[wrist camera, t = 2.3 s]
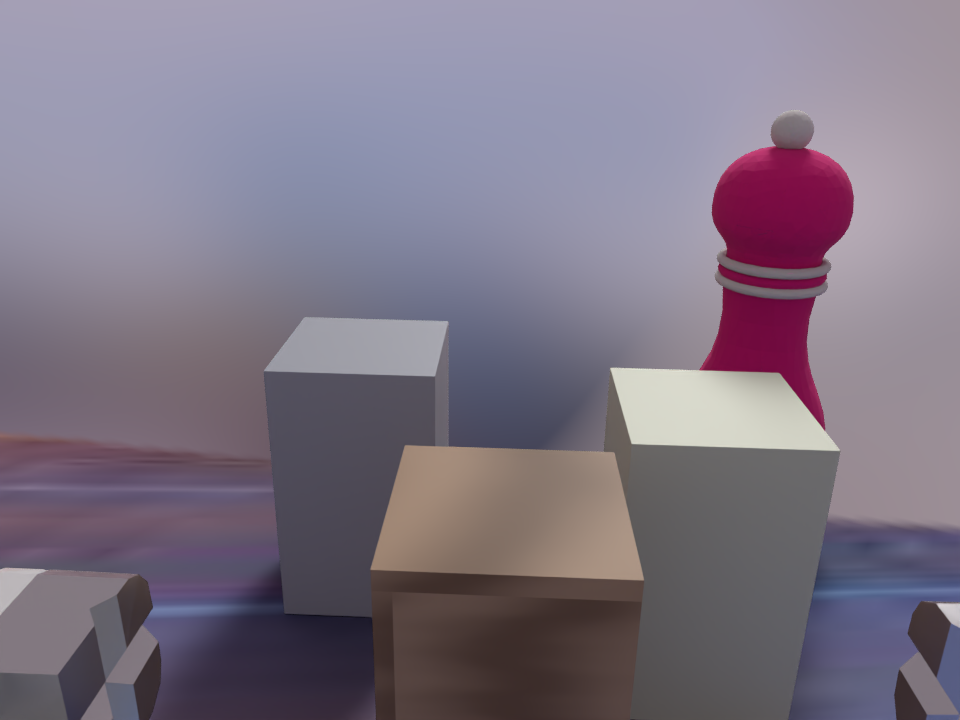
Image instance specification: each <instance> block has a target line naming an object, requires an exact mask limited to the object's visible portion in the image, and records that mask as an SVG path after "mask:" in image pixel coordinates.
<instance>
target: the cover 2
mask: <svg viewBox="0 0 960 720" xmlns="http://www.w3.org/2000/svg"><path fill="white" fill-rule="evenodd" d="M604 452H614V453H615V457H616V461H617V466H618V470H619V474H620V479H621V483H622V487H623V491H624V496H625V500H626V504H627V509H628V513H629V517H630V521H631V526H632V530H633V534H634V539H635V543H636V547H637V551H638V556H639V560H640V564H641V568H642V573H643V577H644V588H643V598H642V607H641V617H640V626H639V636H638V645H637V655H636V664H635V674H634V684H633V693H632V703H631V712H630V719H635V720H788V718H789V713H790V708H791V702H792V697H793V692H794V687H795V682H796V677H797V672H798V667H799V661H800V656H801V651H802V646H803V641H804V636H805V631H806V625H807V620H808V615H809V610H810V605H811V600H812V595H813V589H814V584H815V579H816V574H817V569H818V564H819V559H820V553H821V548H822V543H823V538H824V533H825V528H826V523H827V517H828V512H829V507H830V502H831V497H832V491H833V487H834V481H835V476H836V471H837V466H838V461H839V455H840V450H839V449H838V447H837V446H836V445H835V443H834V442H833V441H832V440H831V438H830V437H829V436H828V435H827V433H826V432H825V431H824V429H823V428H822V427H821V425H820V424H819V423H818V422H817V420H816V419H815V418H814V417H813V415H812V414H811V413H810V411H809V410H808V409H807V408H806V406H805V405H804V404H803V402H802V401H801V400H800V399H799V397H798V396H797V395H796V394H795V392H794V391H793V390H792V388H791V387H790V386H789V385H788V383H787V382H786V381H785V379H784V378H783V377H782V376H781V374H780V373H766V372H733V371H700V370H666V369H634V368H610V379H609V391H608V403H607V417H606V429H605V442H604Z"/></svg>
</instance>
